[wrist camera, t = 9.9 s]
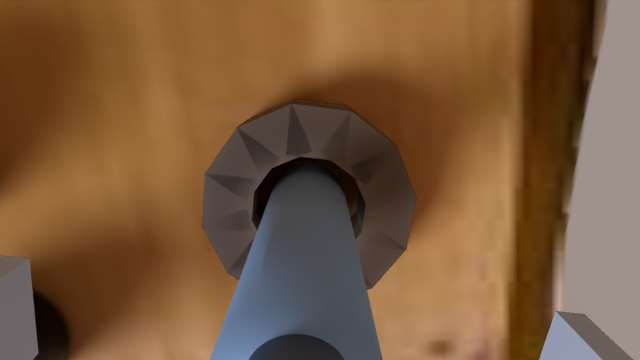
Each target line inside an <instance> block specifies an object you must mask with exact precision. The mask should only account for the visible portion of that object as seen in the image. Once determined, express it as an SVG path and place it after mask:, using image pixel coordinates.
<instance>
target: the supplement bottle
mask: <svg viewBox="0 0 640 360" xmlns="http://www.w3.org/2000/svg"><path fill="white" fill-rule="evenodd" d="M33 302H34V312H35V323H36V334H37V344H38V354H37V355H36V357H35V358H34V359H33V360H65V358H66V356H67V353H68V348H69V335H68V330H67V327H66V324H65V322H64V320H63V318H62V317H61V315H60V314H59V312H58V311H57V310H56V309H55V308H54V306H52V305H51V304H50V303H49V302H48V301H47V300H45V299H44V298H42V297H41V296H39V295H37V294H35V293H33Z"/></svg>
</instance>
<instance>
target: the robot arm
mask: <svg viewBox="0 0 640 360" xmlns="http://www.w3.org/2000/svg"><path fill="white" fill-rule="evenodd" d="M37 354H38V344H37V334H36V323H35V312H34V302H33V291H32V280H31V269H30V259H29V258H20V257H10V256H0V360H33V359H34V358H35V357H36V355H37ZM539 360H633V359H632V358H631V357H630V356H629V355H627V354H626V353H625V352H624V351H623V350H622V349H621V348H620V347H619V346H618V345H617V344H615V342H614V341H613V340H611V339H610V338H609V337H608V336H607V335H606V334H605V333H604V332H603V331H602V330H601V329H600V328H599V327H598V326H596V325H595V324H594V323H593V322H592V321H591V320H590V319H589V318H588V317H587V316H586V315H585V314H578V313H569V312H559V311H556V312H555V315H554V318H553V321H552V324H551V327H550V329H549V332H548V335H547V338H546V341H545V344H544V347H543V350H542V353H541V356H540V359H539Z"/></svg>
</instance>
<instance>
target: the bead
mask: <svg viewBox="0 0 640 360" xmlns="http://www.w3.org/2000/svg"><path fill="white" fill-rule="evenodd" d="M297 157H308V158H317V159H325V160H331V161H332V162H334V163H335V164H337V165H338V166H339V167H341V168H342V169H343V170H345V171H346V172H347V173H349V174H350V175H351V176H353V177H354V178H355V180H356V182H357V184H358V187H359V195H358V201H357V207H356V212H355V213H354V215H353V216H352V217H351V223H352V227H353V232H354V236H355V240H356V245H357V249H358V254H359V258H360V262H361V267H362V271H363V276H364V280H365V285H366V289H367V290H368V289H371V288H373V287H374V285H375V284H376V283H377V282H378V281H379V280H380V279H381V277H382V276H383V275H384V274H385V273H386V272H387V271H388V270H389V268H390V267H391V266H392V265H393V264H394V263H395V262H396V260H397V259H398V258H399V257H400V256H401V255H402V254H403V253H404V251H405V250H406V249H407V243H408V238H409V233H410V228H411V223H412V218H413V213H414V208H415V203H416V198H417V197H416V195H415V193H414V190H413V187H412V185H411V182H410V179H409V177H408V174H407V172H406V169H405V166H404V164H403V161H402V158H401V156H400V153H399V150H398V148H397V146H396V145H395V144H394V143H393V142H392V141H391V140H390V139H389V138H388V137H387V136H385V135H384V134H383V133H381V132H380V131H379V130H378V129H376V128H375V127H374V126H372V125H371V124H370V123H369V122H367V121H366V120H365V119H363V118H362V117H361V116H359V115H358V114H357V113H356V112H354V111H353V110H352V109H350V108H349V107H348V106H347V105H339V104H331V103H323V102H315V101H306V100H298V99H294V100H292V101H289V102H287V103H285V104H282V105H280V106H278V107H276V108H273V109H271V110H269V111H266V112H264V113H262V114H259V115H257V116H255V117H253V118H250V119H248V120H246V121H245V122H244V123H242V124H241V125H240V126H238V127H237V128H236V130H235V131H234V133H233V134H232V135H231V137H230V138H229V140H228V141H227V143H226V144H225V145H224V147H223V148H222V150H221V151H220V153H219V154H218V155H217V157H216V158H215V160H214V161H213V163H212V164H211V165H210V167H209V168H208V170H207V171H206V173H205V183H204V204H203V225H202V227H203V229H204V231H205V233H206V234H207V236H208V238H209V240H210V242H211V244H212V245H213V247H214V249H215V251H216V253H217V255H218V257H219V258H220V260H221V262H222V264H223V266H224V268H225V269H226V271H227V273H228V274H230V275H232V276H233V277H235V278H236V279H238V280H239V279H240V277H241V274H242V271H243V268H244V266H245V263H246V260H247V258H248V255H249V252H250V249H251V247H252V244H253V241H254V239H255V236H256V233H257V230H258V228H259V225H260V222H261V220H262V217H263V214H264V211H265V210H264V208H263V206H262V204H261V202H260V195H261V183H262V180H263V179H264V178H265V176H266V175H267V174H268V172H269V171H270V170H271V168H273V167H276V166H278V165H281V164H283V163H285V162H288V161H290V160H293V159H295V158H297Z"/></svg>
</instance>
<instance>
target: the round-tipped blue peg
mask: <svg viewBox="0 0 640 360" xmlns="http://www.w3.org/2000/svg"><path fill="white" fill-rule="evenodd" d="M210 360H382V355H381V351H380V346H379V342H378V338H377V333H376V329H375V324H374V320H373V315H372V311H371V307H370V302H369V298H368V293H367V289H366V285H365V280H364V276H363V271H362V267H361V262H360V258H359V254H358V249H357V245H356V240H355V236H354V232H353V227H352V223H351V218H350V214H349V210H348V205H347V201H346V196H345V192H344V187H343V184H342V181H341V179H340V177H339V175H338V174H337V173H336V172H335V170H334V169H332V168H331V167H330V166H328V165H327V164H325V163H323V162H320V161H316V160H301V161H297V162H294V163H292V164H290V165H289V166H287V167H286V168H285V169H284V170H283V171H282V172H281V173H280V174H279V176H278V177H277V179H276V182H275V184H274V187H273V190H272V192H271V195H270V198H269V201H268V203H267V206H266V209H265V211H264V214H263V217H262V220H261V222H260V225H259V228H258V230H257V233H256V236H255V239H254V241H253V244H252V247H251V249H250V252H249V255H248V258H247V260H246V263H245V266H244V268H243V271H242V274H241V277H240V279H239V282H238V285H237V287H236V290H235V293H234V296H233V298H232V301H231V304H230V306H229V309H228V312H227V315H226V317H225V320H224V323H223V325H222V328H221V331H220V334H219V336H218V339H217V342H216V344H215V347H214V350H213V353H212V356H211V359H210Z"/></svg>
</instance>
